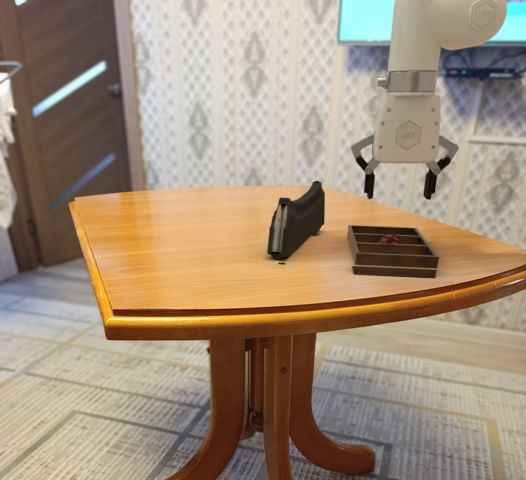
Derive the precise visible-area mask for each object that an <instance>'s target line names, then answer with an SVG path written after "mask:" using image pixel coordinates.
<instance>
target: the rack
mask: <svg viewBox="0 0 526 480" xmlns="http://www.w3.org/2000/svg"><path fill="white" fill-rule="evenodd" d="M390 233H394V234H395V235H396V236H397V238H398V239H399V241H400V242H401V244H387V243H378V242H379V239H380V237H381V235H385V234H390ZM346 238H347V239H348V243H349V248H350V251H351V256H352V259H353V263H354V265H351V268H352V272H353V275H355V276H356V275H357V276H374V277H375V276H378V277H398V278H419V279H421V278H422V279H436V276H437V272H438V265H439V260H440V256H439V254H437V252H436V251H435V250H434V249H433V247H432V246H431V245H430V243H429V242H428V240H427V239H426V238H425V237H424V235H423V234H422V232H421V231H420V230H419V229H418V227H412V226H411V227H409V226H384V225H380V226H378V225H361V224H360V225H359V224H358V225H357V224H348V225H347V234H346Z"/></svg>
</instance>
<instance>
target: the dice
mask: <svg viewBox="0 0 526 480" xmlns="http://www.w3.org/2000/svg"><path fill="white" fill-rule="evenodd" d="M378 243H387V244H401V242H400V241H399V239H398V238H397V236H396V235H395V234H394V233H390V234H385V235H381V237H380V239H379V242H378Z"/></svg>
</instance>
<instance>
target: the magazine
mask: <svg viewBox="0 0 526 480" xmlns="http://www.w3.org/2000/svg"><path fill="white" fill-rule="evenodd" d="M277 203H278V204H277V206H276V209H275V211H274V212H273V215H272V217H271V223H270V226H269V231H268V240H267V250H266V253H267V255H268V256H271V257H272V258H273V259H276V260H277V259H278V260H282V259H285V258H290V257H291V256H293V255H294V254H295V252H296V251H298V249H300V248H301V247H302V245H304V244H305V242H306V241H308V240H309V239H310V238H311V237H316V236H317V235H318V233H319V232H320V230H321V228H322V227H323V226H324V225H325V221H326V220H325V217H326V216H325V212H326V211H325V209H326V194H325V191H324V189H323V183H322V182H321V181H320V180H314V181H312V183H311V185H310V188H309V189H308V190H307V191H306V192H304V194H303V195H302V196H300V197H299V198H297V199H294V200H292V199H291V198H290V197H283V196H282V197H279V198H278V202H277ZM278 265H284V266H285V265H286V263H285V262H278Z"/></svg>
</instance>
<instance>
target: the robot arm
mask: <svg viewBox="0 0 526 480" xmlns="http://www.w3.org/2000/svg"><path fill="white" fill-rule="evenodd" d="M510 1H511V0H394V2H393V3H394V4H393V11H392V12H393V13H392V21H391V33H390V44H389V53H388V55H389V56H388V63H387V73H386V75H384V76H382V77H377V81H376V87H377V88H382V89H383V90H384V91H385V95H381V96H380V99H379V103H378V107H377V112H376V116H375V124H374V129H373V133H371V134H370V135H368V136H366V137H363V138H362V139H360V140H358V141H356V142H355V143H353V144H351V145H350V151H351V153H352V156H353V158H354V160H355V162H356V164H357V165H358V166H359V167H360V169H362V171H363V172H364V183H363V193H364V194H366V198H367V199H368V200H372V199H374V192H375V191H374V190H375V181H376V175H375V173H374V171H375V170H376V169H377V167H379V165H380V164H425V165H426V166H425V167H427V169H428V172H426V174H425V178H424V186H423V193H422V196H423V198H424V199H426V201H427V200H428V201H429V200H432V196H433V195H434V194H435V193H436V190H437V189H436V188H437V181H438V176H439V175H440V174H441V172H442V171H443V170H444V169H445V168H447V166H448V165H450V164H451V162H452V160H453V159H454V157H455V156H456V154H457V153H458V151H459V149H460V146H459V145H458V144H456V143H454V142H452V141H451V140H449V139H447V138H446V137H444V136H442V135H440V134H441V133H440V132H441V131H440V130H441V111H442V107H441V103H442V102H441V95H439V94H438V95H437V94H436V89H437V82H438V81H437V80H438V73H439V66H440V59H441V51H442V50H441V49H444V50H447V51H457V50H461V49H468V48H474V47H477V46H481V45H483V44H485V43H487V42H489V41H490V40H491V39H493V38H494V37H495V36H496V35H497V34H498V33H499V31H500V30H501V29H502V27H503V26H504V24H505V21H506V17H507V13H508V3H510ZM370 145H371V156H372V157H371V158H370V159H369V160H368V161H366V160H365V158H364V157H363V155H362V150H363V149H366V148H367V147H368V146H370ZM439 146H441V148H443V149H445V153H444V154H443V156H442V157H441V158H440V159H439V160H438V161H436V159H437V157H438V152H439Z"/></svg>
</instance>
